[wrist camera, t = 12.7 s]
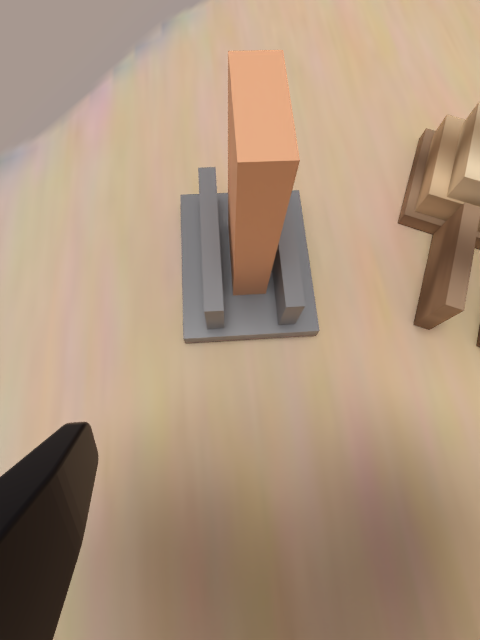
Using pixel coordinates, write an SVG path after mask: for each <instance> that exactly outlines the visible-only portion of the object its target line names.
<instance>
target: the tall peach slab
mask: <svg viewBox="0 0 480 640" xmlns="http://www.w3.org/2000/svg"><path fill="white" fill-rule="evenodd" d="M299 161H300V159H299V152H298V146H297V139H296V133H295V126H294V119H293V113H292V106H291V100H290V93H289V86H288V80H287V73H286V67H285V60H284V54H283V50H254V51H228V230H229V245H230V259H231V274H232V288H233V295H250V294H266V291H267V287H268V283H269V279H270V275H271V271H272V267H273V263H274V259H275V255H276V251H277V247H278V244H279V240H280V236H281V232H282V228H283V224H284V220H285V216H286V212H287V208H288V204H289V200H290V196H291V193H292V189H293V185H294V181H295V177H296V173H297V169H298V165H299Z"/></svg>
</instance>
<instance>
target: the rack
mask: <svg viewBox="0 0 480 640" xmlns="http://www.w3.org/2000/svg"><path fill="white" fill-rule="evenodd" d="M398 223H400V224H403V225H406V226H409V227H412V228H415V229H418V230H422V231H425V232H428V233H431V234H433V237H432V242H431V247H430V251H429V256H428V261H427V265H426V270H425V274H424V279H423V284H422V288H421V293H420V298H419V302H418V307H417V312H416V316H415V321H414V325H417V326H420V327H423V328H426V329H429V330H430V329H432V328H433V327H435V326H437V325H439V324H441V323H442V322H444V321H446V320H448V319H450V318H451V317H453V316H455V315H457V314H459V313H460V312H462V311H464V307H465V301H466V295H467V289H468V283H469V277H470V271H471V265H472V260H473V254H474V248H478V249H480V102H479V103H478V104H477V105H476V107H475V108H474V109H473V111H472V112H471V113H470V115H469V116H468V117H467V119H466V120H464V119H461V118H458V117H454V116H451V115H446V117H445V118H444V120H443V121H442V123H441V124H440V126H439V127H438V129H437V130H436V131H434V130H430V129H427V128H426V129H425V131H424V133H423V134H422V136H421V137H420V139H419V142H418V146H417V150H416V154H415V158H414V162H413V166H412V170H411V174H410V178H409V182H408V185H407V189H406V193H405V197H404V201H403V205H402V209H401V213H400V217H399V221H398ZM477 346H478V347H480V327H479V334H478V341H477Z"/></svg>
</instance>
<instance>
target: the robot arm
mask: <svg viewBox="0 0 480 640" xmlns="http://www.w3.org/2000/svg"><path fill="white" fill-rule="evenodd" d="M97 466H98V451H97V447H96V443H95V440H94V436H93V433H92V429H91V426H90V425H89V423H87V422H74V423H67V424H65V425H63V426H62V427H61V428H60V429H58V430H57V431H56V432H55V433H53V434H52V435H51V436H50V437H49V438H47V439H46V440H45V441H44V442H42V443H41V444H40V445H39V446H38V447H36V448H35V449H34V450H33V451H31V452H30V453H29V454H28V455H27V456H25V457H24V458H23V459H22V460H20V461H19V462H18V463H17V464H16V465H14V466H13V467H12V468H11V469H9V470H8V471H7V472H6V473H5V474H3V475H2V476H1V477H0V640H53V637H54V634H55V631H56V627H57V624H58V621H59V618H60V614H61V611H62V608H63V605H64V601H65V598H66V595H67V591H68V588H69V585H70V582H71V578H72V575H73V572H74V569H75V565H76V562H77V559H78V556H79V552H80V548H81V545H82V541H83V536H84V532H85V527H86V522H87V517H88V512H89V507H90V502H91V496H92V491H93V486H94V481H95V476H96V471H97Z"/></svg>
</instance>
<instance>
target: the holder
mask: <svg viewBox="0 0 480 640" xmlns="http://www.w3.org/2000/svg"><path fill="white" fill-rule="evenodd" d="M198 172H199V194H188V195H181V238H182V287H183V335H184V341H185V343H197V342H214V341H231V340H248V339H265V338H282V337H299V336H316V334H317V333H318V332H319V325H318V318H317V311H316V304H315V297H314V290H313V284H312V277H311V270H310V263H309V256H308V249H307V243H306V236H305V229H304V222H303V215H302V208H301V201H300V195H299V190H295V191H292V193H291V196H290V200H289V204H288V208H287V212H286V216H285V220H284V224H283V228H282V232H281V236H280V240H279V244H278V247H277V251H276V255H275V259H274V263H273V267H272V271H271V275H270V279H269V283H268V287H267V291H266V294H250V295H233V288H232V274H231V259H230V245H229V230H228V193H217V186H216V169H215V167H209V168H198Z"/></svg>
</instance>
